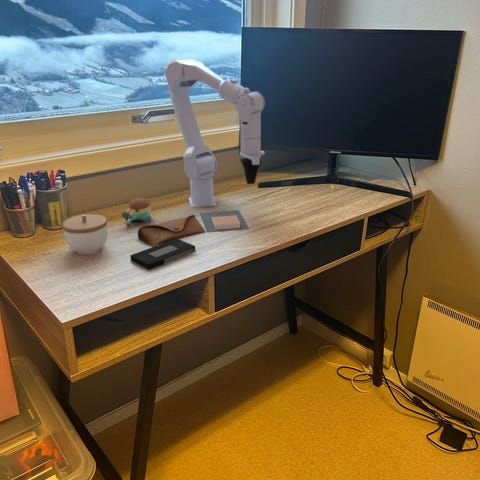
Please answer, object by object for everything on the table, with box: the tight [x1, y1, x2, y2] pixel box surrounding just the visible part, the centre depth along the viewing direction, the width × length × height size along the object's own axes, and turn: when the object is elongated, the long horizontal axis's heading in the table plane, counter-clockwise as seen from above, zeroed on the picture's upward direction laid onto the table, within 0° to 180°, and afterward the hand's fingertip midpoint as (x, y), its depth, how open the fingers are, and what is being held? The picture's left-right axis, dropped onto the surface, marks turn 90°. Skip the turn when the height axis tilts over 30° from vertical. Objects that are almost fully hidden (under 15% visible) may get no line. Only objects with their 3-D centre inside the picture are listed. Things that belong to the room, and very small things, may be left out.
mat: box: [199, 209, 250, 233], centre depth 140 cm, size 16×12×1 cm
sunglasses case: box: [137, 214, 207, 248], centre depth 131 cm, size 18×7×7 cm
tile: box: [212, 215, 240, 230], centre depth 136 cm, size 2×7×6 cm
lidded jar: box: [61, 213, 108, 256], centre depth 121 cm, size 11×11×9 cm
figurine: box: [121, 197, 152, 228], centre depth 140 cm, size 7×10×7 cm
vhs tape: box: [130, 238, 196, 271], centre depth 118 cm, size 8×14×2 cm, turn 136°
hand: (250, 183), depth 141 cm, fingers closed
